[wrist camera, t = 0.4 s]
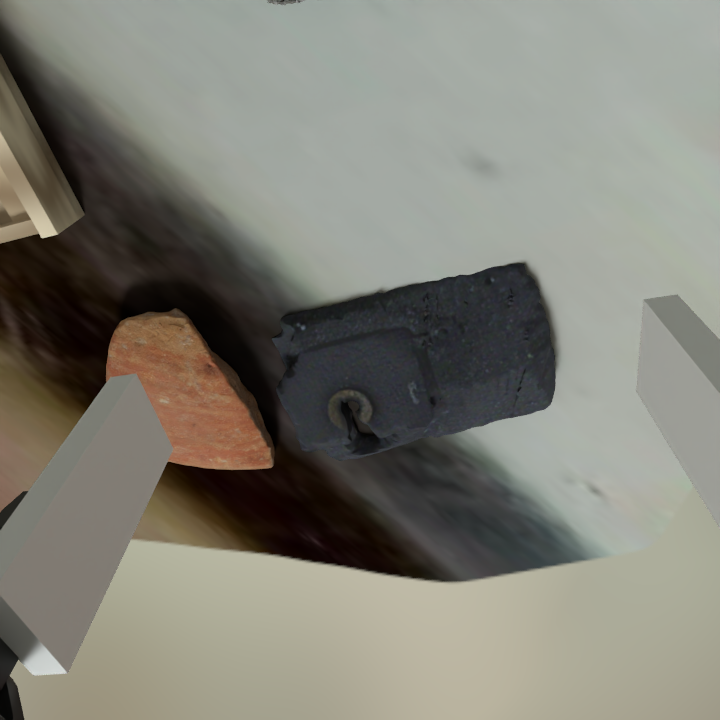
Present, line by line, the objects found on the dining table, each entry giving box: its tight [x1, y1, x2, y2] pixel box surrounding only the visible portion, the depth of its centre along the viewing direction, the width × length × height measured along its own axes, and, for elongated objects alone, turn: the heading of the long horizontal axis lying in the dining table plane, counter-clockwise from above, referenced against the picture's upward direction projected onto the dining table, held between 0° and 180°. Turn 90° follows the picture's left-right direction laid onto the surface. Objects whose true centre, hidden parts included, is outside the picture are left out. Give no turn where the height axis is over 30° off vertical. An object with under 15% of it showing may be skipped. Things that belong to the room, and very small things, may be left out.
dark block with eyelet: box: [272, 264, 556, 461], centre depth 46 cm, size 15×22×5 cm
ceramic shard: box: [106, 308, 274, 470], centre depth 47 cm, size 15×6×15 cm
